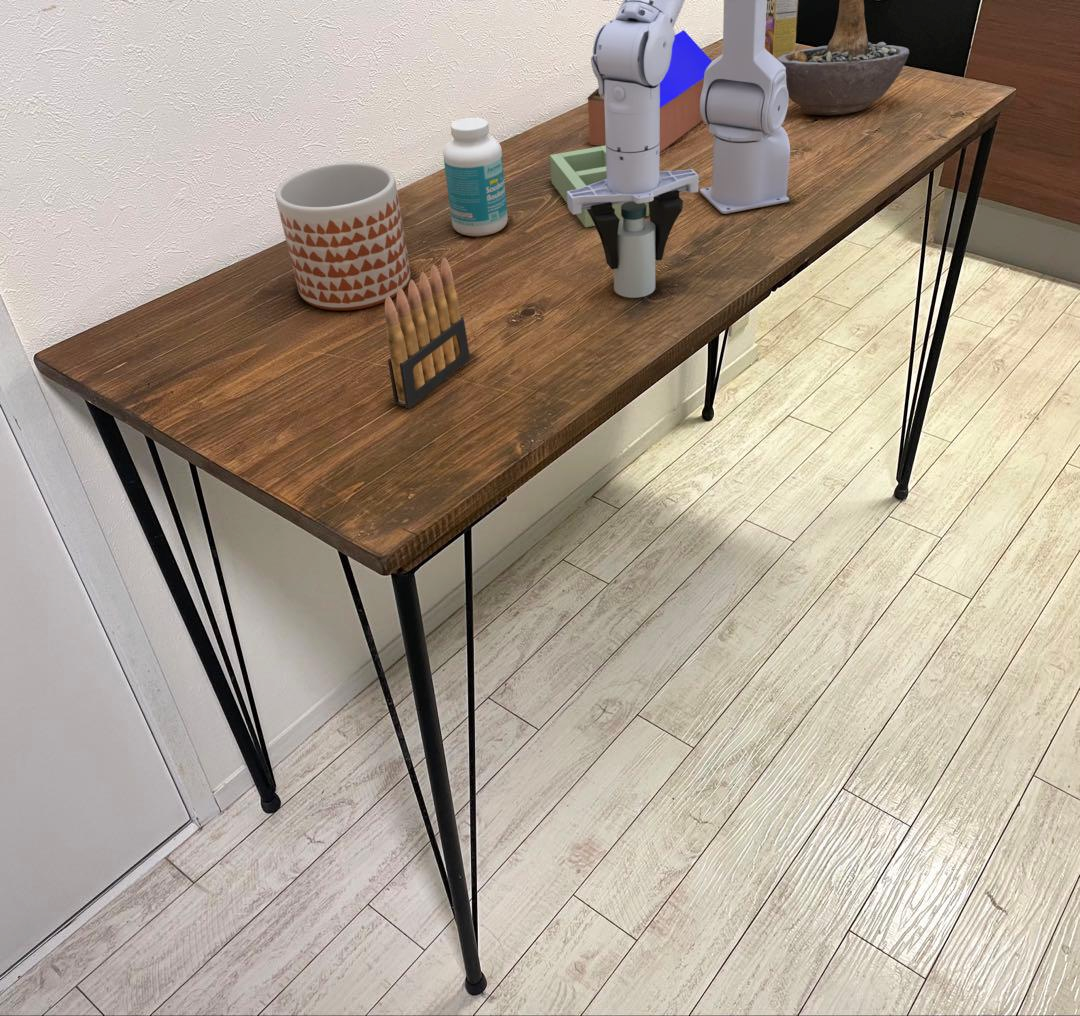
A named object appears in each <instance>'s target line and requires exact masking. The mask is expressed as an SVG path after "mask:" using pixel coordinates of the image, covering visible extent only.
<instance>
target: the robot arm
mask: <svg viewBox="0 0 1080 1016" xmlns="http://www.w3.org/2000/svg"><path fill="white" fill-rule="evenodd" d="M685 1H686V0H622V1H621V4H620V6H619V8H618V11H617V13H616V15H615V18H613V19H611V20H609V22H606V23H605V24H602V25H601V27H600V28H599V29H598V31H597V33H596V35H595V38H594V42H593V48H592V55H591V56H590V63H591V68H592V72H593V74H594V76H595V78H596V80H597V83H598V88H599V94H600V97H601V98H602V99H604V106H605V140H606V174H607V179H605V180H602V181H599V182H596V183H593V184H591V185H588V186H585V187H582V188H579V189H575V190H571V191H567V202H566V204H567V203H568V204H567V209H568V211H569V212H570V213H571V215H576V214H580V213H582V210H587V211H588V213H589V215H590V216H591V218H592V220H593V222H594V224H595V226H594V227H595V229H596V231H597V233H598V237H599V238H600V241H601V245H602V248H603V252H604V256H605V261H606V262H605V263H606V264H607V265H608V266H609V268H610V269H611V270H614V269H617V268H618V251H617V236H618V227H619V221H620V219H619V218H618V217H617V216H616V214H615V209H613V207H612V205H614V204H620V203H625V202H631V201H634V202H635V203H638V204H640V203H646V202H648V203H649V221H651V222H653V223H654V224H655V261H662V260H663V259H664V258H663V257H664V253H665V248H666V246H667V242H668V239H669V236H670V233H671V232H672V229H673V227H674V225H675V222H676V221H677V219H678V217H679V216H680V214H681V213H682V212H683V208H684V200H683V199H682V198H681V197H680V193H685V192H687V193H688V194H695V193H698V192H699V193H700V194H701V195H702V196H703V197H704V198H705V199H706V200H707V201H708V202H709V203H710V204H711V205H712V206H713V207H714V208H715V209H716V210H718V211H719V212H720V213H721V214H723V215H725V214H726V215H727V214H732V213H738V212H742V211H743V212H744V211H747V210H748V211H749V210H752V209H758V208H765V207H769V206H774V205H780V204H786V203H789V202H790V198H789V197H788V186H789V185H788V184H789V173H790V172H789V171H790V160H791V144H790V139H789V136H788V133H787V131H786V130H785V128H784V127H783V124H784V122H785V119H786V117H787V113H788V108H789V101H790V100H789V99H790V98H789V94H788V90H787V84H786V68H785V66H784V65H783V64H782V63H781V62H779V61H778V60H777V59H776V58H775V57H774V56H773V55H771V54H770V53H769V52H768V51H767V50H766V49H765V28H766V6H767V0H723V23H722V24H723V25H722V53H721V54H719V55H718V56H717V57H716V58H714V59H713V60H711V61H712V62H711V63H710V64H709V66H708V67H707V69H706V70H705V74H704V84H703V89H702V93H701V97H700V114H701V117H702V119H703V120H702V122H703V123H704V125H706V126H708V133H709V134H711V135H713V137H712V138H713V139H712V164H711V166H712V167H711V186H708V187H703V188H700V189H699V182H700V181H699V180H700V176H699V174H698V172H696V171H695V170H694V169H693V168H689V169H683V170H682V169H681V170H680V169H679V170H662V171H661V170H660V162H661V161H660V154H661V152H660V82H661V81H662V80H663V78H664V77H665V75H666V73H667V71H668V69H669V66H670V61H671V55H672V45H673V42H674V39H675V38H674V37H675V35H676V31H675V29H674V27H675V25H676V22H677V20H678V18H679V15H680V13H681V11H682V8H683V7H684V3H685Z"/></svg>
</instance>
